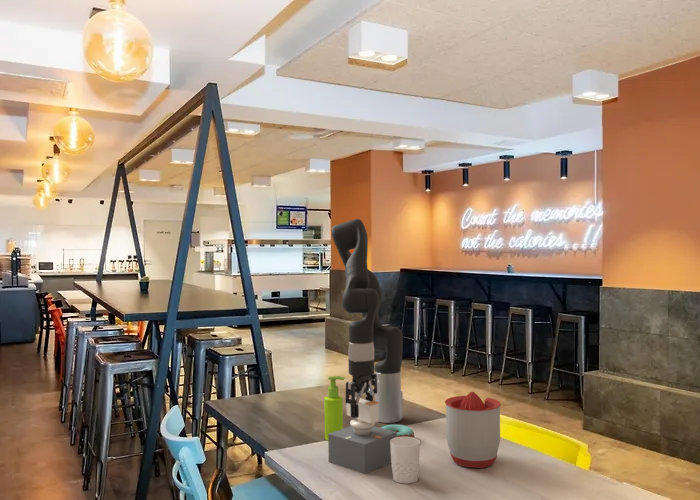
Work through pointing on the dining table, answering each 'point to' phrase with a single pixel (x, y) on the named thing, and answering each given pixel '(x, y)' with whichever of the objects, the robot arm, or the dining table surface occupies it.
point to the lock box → (360, 448)
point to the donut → (400, 430)
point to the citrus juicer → (473, 430)
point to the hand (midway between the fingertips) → (362, 413)
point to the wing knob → (364, 414)
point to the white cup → (405, 459)
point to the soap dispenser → (333, 408)
